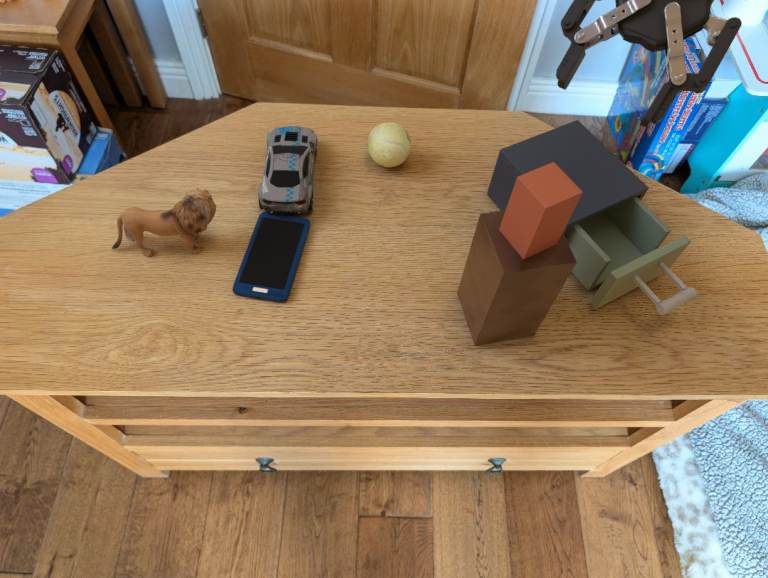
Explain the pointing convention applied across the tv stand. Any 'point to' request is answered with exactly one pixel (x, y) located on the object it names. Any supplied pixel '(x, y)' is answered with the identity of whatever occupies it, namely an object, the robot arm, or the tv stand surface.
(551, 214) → the block
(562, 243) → the stand
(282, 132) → the toy car
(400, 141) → the tennis ball
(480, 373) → the tv stand surface
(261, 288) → the cell phone
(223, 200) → the tv stand surface
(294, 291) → the tv stand surface
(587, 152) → the cabinet
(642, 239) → the drawer
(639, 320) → the tv stand surface
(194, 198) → the lion figurine
